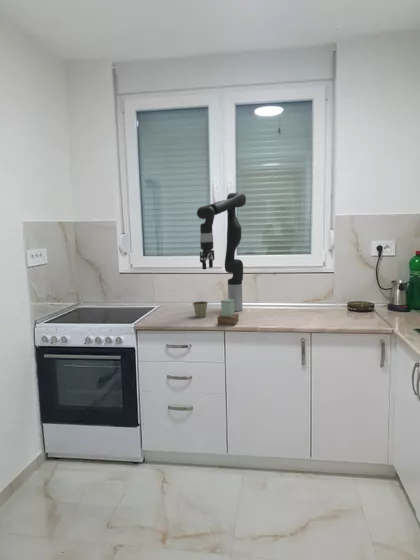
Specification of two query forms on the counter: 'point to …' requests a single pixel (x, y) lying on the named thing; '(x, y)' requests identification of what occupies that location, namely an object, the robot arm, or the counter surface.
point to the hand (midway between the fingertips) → (207, 268)
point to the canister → (227, 307)
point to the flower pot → (200, 308)
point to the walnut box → (228, 320)
